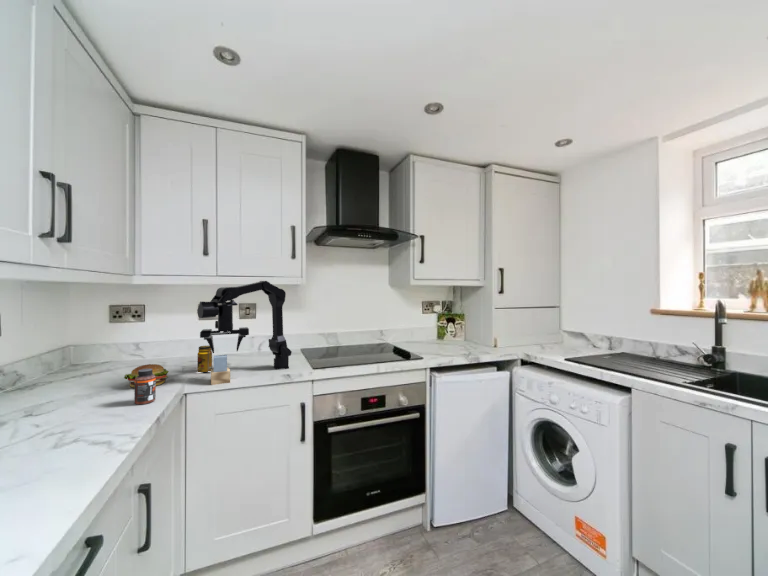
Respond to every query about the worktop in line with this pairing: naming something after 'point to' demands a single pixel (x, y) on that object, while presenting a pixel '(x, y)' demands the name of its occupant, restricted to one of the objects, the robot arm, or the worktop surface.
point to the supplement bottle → (145, 387)
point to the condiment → (204, 359)
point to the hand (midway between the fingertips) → (225, 352)
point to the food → (157, 371)
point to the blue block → (220, 363)
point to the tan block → (220, 377)
